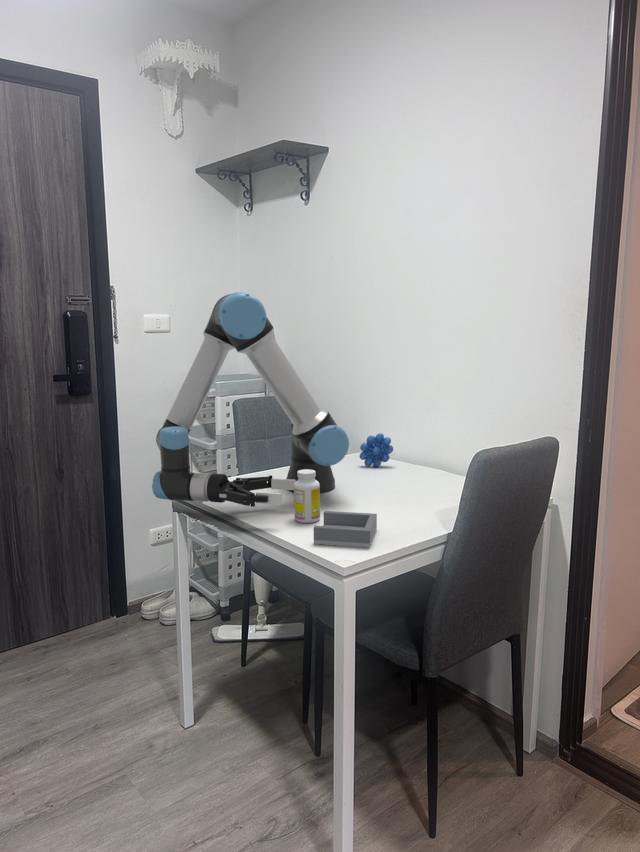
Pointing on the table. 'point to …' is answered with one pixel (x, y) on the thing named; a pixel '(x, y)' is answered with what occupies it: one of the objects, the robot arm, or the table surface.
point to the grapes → (376, 450)
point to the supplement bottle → (306, 497)
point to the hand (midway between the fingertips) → (288, 491)
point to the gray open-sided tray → (346, 529)
